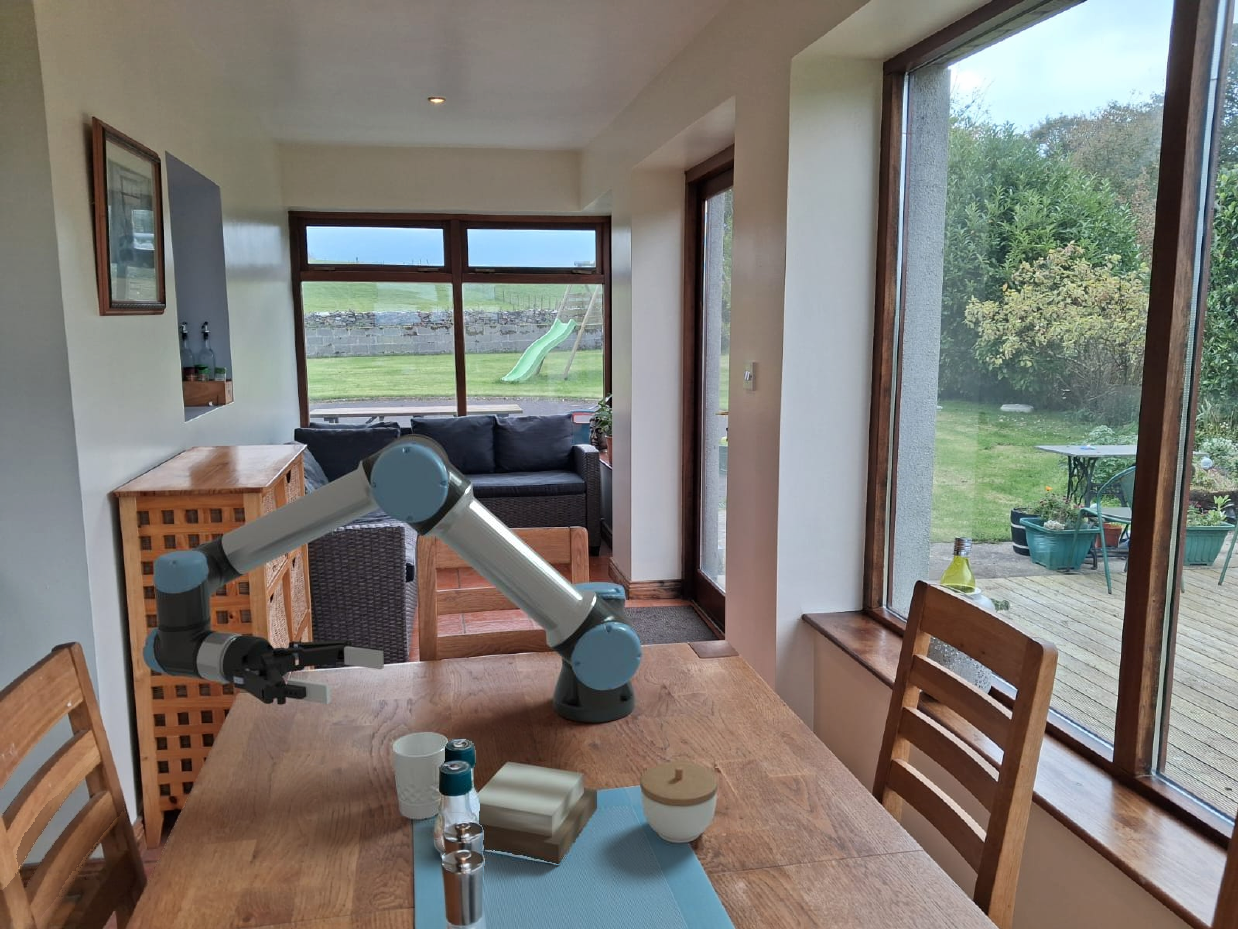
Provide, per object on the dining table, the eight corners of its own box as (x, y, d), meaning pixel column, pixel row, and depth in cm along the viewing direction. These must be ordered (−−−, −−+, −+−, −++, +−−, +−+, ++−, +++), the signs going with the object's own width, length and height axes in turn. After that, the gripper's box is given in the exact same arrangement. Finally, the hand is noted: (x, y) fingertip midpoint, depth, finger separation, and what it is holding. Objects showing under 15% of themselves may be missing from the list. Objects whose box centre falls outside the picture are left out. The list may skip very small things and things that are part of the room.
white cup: (386, 820, 132) (383, 754, 130) (407, 792, 140) (405, 730, 138) (439, 824, 131) (436, 758, 129) (457, 796, 138) (455, 733, 137)
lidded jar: (694, 862, 121) (694, 795, 120) (625, 837, 127) (625, 774, 126) (730, 824, 130) (731, 762, 129) (664, 803, 136) (664, 743, 134)
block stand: (503, 792, 139) (502, 755, 138) (597, 808, 134) (596, 770, 134) (456, 846, 125) (454, 805, 124) (558, 866, 120) (558, 823, 119)
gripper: (291, 655, 154) (402, 670, 147) (177, 715, 130) (303, 736, 124) (288, 611, 153) (401, 625, 146) (173, 664, 129) (301, 683, 123)
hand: (356, 676), depth 135 cm, fingers open, 13 cm apart
